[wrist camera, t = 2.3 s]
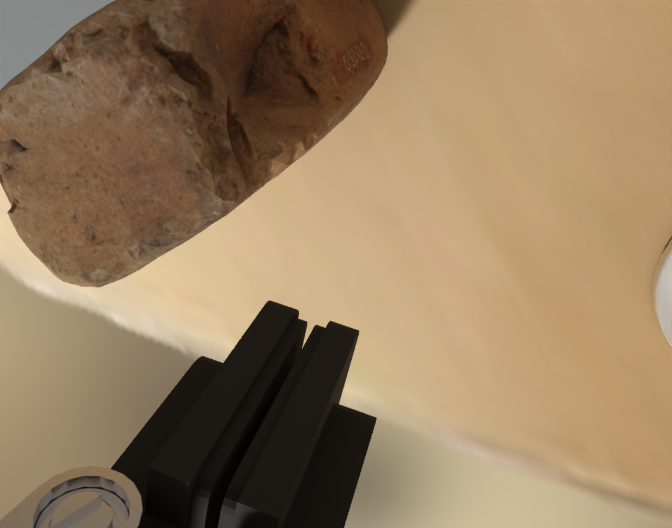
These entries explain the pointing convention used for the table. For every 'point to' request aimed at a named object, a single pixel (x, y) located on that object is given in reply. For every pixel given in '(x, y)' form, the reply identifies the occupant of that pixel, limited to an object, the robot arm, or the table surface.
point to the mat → (36, 29)
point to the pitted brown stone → (172, 120)
